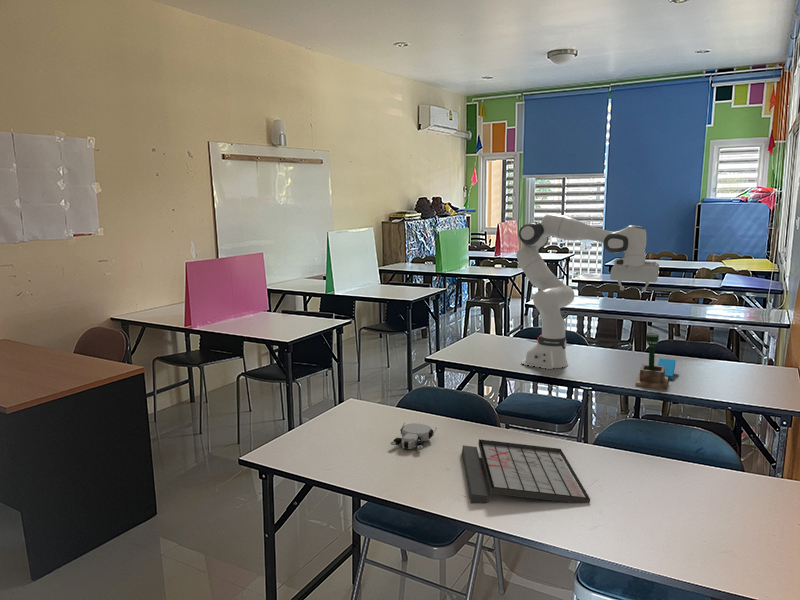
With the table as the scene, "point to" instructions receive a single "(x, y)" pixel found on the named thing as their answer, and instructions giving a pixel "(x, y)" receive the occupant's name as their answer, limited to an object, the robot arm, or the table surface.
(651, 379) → the stand
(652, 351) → the flashlight
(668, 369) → the blue slanted block
